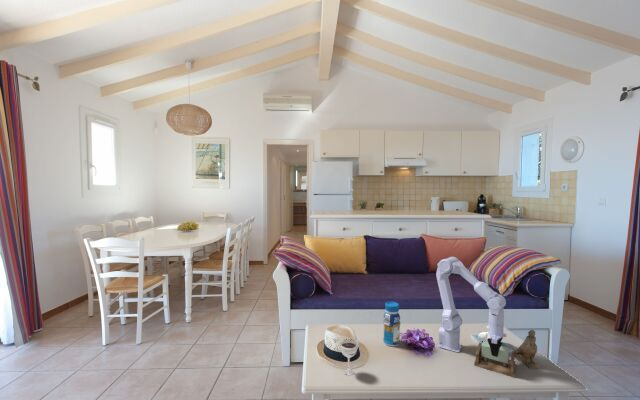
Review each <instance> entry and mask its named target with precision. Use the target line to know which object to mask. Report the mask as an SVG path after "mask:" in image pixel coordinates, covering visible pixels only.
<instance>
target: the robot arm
mask: <svg viewBox="0 0 640 400" xmlns="http://www.w3.org/2000/svg"><path fill="white" fill-rule="evenodd" d="M435 274H436V280H437V285H438V290H439V294H440V299H441V303H442V309H443V312H442V314H441V318H442V320H441V326H440V327H439V329H438V344H437V346H438V348H440V349H441V348H442V349H444V350H447V351H448V350H449V351H452V352H455V353H460V351H461V348H462V344H460V343H461V339H460V337H461V332H460V331H461V326H462V324H463V319H462V316H460V313H459V311H458V310H457V309H456V305H455V302H454V296H453V292H452V288H451V284H450V278H449V277H450V275H451V274H454V275H455V274H457V275H460V276H461V277H462V278H463V279H465V280H466V281H467V282H468V283H469V284H471V285H472V286H473V289H474V292H475V293H476V294H478V295H479V296H480V298H482V299H483V301H485V302H486V305H487V307H488V309H489V310H488V326H489V329H488V330H487V332H488V334H489V335H490V337H491V339H490V338H488V339H487V341H488V343H489V345H490V349H491V354H492V356H495V357H497V356H498V353H499V349H500V347H501V346H503V342H502V340H503V339H504V338H507V334H506V333H505V332H504V326H505V323H504V320H505V313H504V312H505V306H506V305H507V301H506V298H505V297H504V295H502V294H499V293H498V292H497V291H494V289H492V287H490V286H489V283H487V282H484V281H480V280H478V278H477V277H475V275H474V274H473V273H471V271H470V270H469V269H468V268H467V267H465V265H464V264H463V262H462V261H461V260H459V258H457V257H455V256H449V257H448V258H444V259H443V258H442V259H440V261H439V262H438V263H437V269H436V273H435ZM502 338H503V339H502Z"/></svg>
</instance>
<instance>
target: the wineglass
mask: <svg viewBox="0 0 640 400" xmlns="http://www.w3.org/2000/svg"><path fill="white" fill-rule="evenodd" d="M340 345H341V347H340V351H341V353H342V355H343V356H344V357H346V358H347V368H346V369H347V370H344V369H343V370H344V373H345V374H347V375H346V376H348V375H351V376H353V375H354V374H355V371H353V370H354V369H352V368H350V362H351V361H350V360H351V358H352V357H354V356H355V355H356V354H357V352H358V348H357V342H355V341H353V340H348V339H347V340H343V341H342V342H341V343H340ZM351 369H352V370H351ZM344 373H343V374H344ZM353 373H354V374H353ZM345 374H344V375H345ZM352 374H353V375H352Z"/></svg>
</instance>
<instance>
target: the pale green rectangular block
mask: <svg viewBox="0 0 640 400" xmlns="http://www.w3.org/2000/svg"><path fill="white" fill-rule="evenodd" d="M509 349H510V348H509V347H508V346H504V345H502V346H501V347H500V349H499V353H498V356H497V357H495V356H492V354H491V349H490V345H489V343H488V342H484V341H483V342H482V349H481V352H482V357H486V358H489V359H493V360H497V361H500V362H504V363H507V364H508V359H509V356H510V355H509V354H510V351H509Z"/></svg>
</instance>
